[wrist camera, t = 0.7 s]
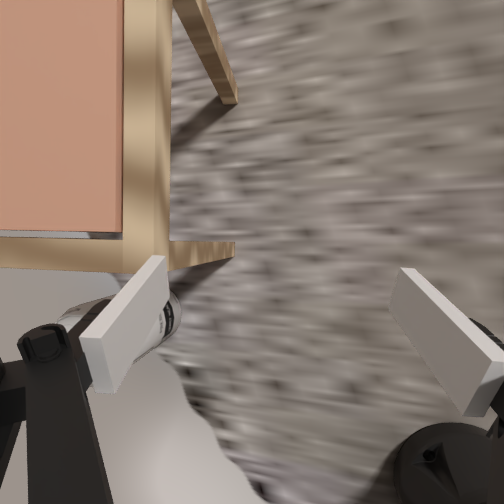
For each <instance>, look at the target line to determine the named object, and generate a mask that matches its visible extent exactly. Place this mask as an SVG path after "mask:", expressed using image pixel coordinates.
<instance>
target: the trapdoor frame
mask: <svg viewBox="0 0 504 504" xmlns="http://www.w3.org/2000/svg"><path fill="white" fill-rule="evenodd" d="M172 4H173V6H174V8H175V10H176V12H177V14H178V16H179V18H180V20H181V22H182V24H183V26H184V28H185V30H186V32H187V34H188V36H189V38H190V40H191V42H192V44H193V46H194V48H195V49H196V51H197V53H198V55H199V57H200V59H201V61H202V63H203V65H204V67H205V69H206V71H207V73H208V75H209V77H210V79H211V81H212V83H213V85H214V87H215V89H216V91H217V93H218V95H219V96H220V98H221V100H222V102H223V104H224V105H227V104H238V87H237V84H236V82H235V79H234V76H233V74H232V71H231V68H230V65H229V63H228V60H227V57H226V54H225V52H224V49H223V46H222V43H221V41H220V38H219V35H218V32H217V30H216V27H215V24H214V21H213V19H212V16H211V13H210V11H209V8H208V5H207V2H206V0H124V146H123V240H100V239H83V238H82V239H81V238H37V237H0V268H20V269H42V270H64V271H86V272H108V273H129V274H136V273H137V272H138V270H139V269H140V268H141V267H142V266H143V265H144V264H145V263H146V261H147V260H148V259H149V258H150V257H151V256H152V255H160V256H166V264H167V271H172V270H176V269H181V268H185V267H190V266H194V265H199V264H203V263H208V262H212V261H216V260H221V259H225V258H230V257H234V256H235V242H199V241H169V216H170V138H171V61H172Z"/></svg>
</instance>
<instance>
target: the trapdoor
mask: <svg viewBox="0 0 504 504" xmlns="http://www.w3.org/2000/svg"><path fill="white" fill-rule="evenodd" d="M123 146H124V0H0V230H30V231H32V230H33V231H79V232H101V233H123Z"/></svg>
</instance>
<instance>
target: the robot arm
mask: <svg viewBox="0 0 504 504" xmlns="http://www.w3.org/2000/svg"><path fill="white" fill-rule="evenodd" d="M169 298H170V292H169V283H168V274H167V264H166V256H160V255H152V256H151V257H150V258H149V259H148V260H147V261H146V263H145V264H144V265H143V266H142V267H141V268H140V269H139V270H138V272H137V273H136V274H135V275H134V276H133V277H132V278H131V279H130V280H129V282H128V283H127V284H126V285H125V286H124V287H123V288H122V289H121V291H120V292H119V293H118V294H117V295H116V296H115V297H114V298H113V299H104V300H102V301H100V302H99V303H97V304H95V305H94V306H93V307H92V308H91V309H90V310H89V311H88V312H87V314H85V315H84V316H83V317H82V318H81V320H80V321H78V322H77V323H76V324H75V325H74V326H73V327H72V328H71V329H70V331H69V332H68V333H67V331H66V328H65V327H64V326H63V325H61V324H58V323H57V324H46V325H42V326H39V327H36V328H34V329H32V330H30V331H29V332H27V333H25V334H24V335H23V336H22V337H21V338H20V339H19V340H18V343H17V346H18V349H19V351H20V353H21V356H22V358H23V360H18V361H13V362H7V363H3V362H2V360H1V358H0V488H1V485H2V482H3V479H4V475H5V472H6V469H7V466H8V463H9V460H10V457H11V454H12V451H13V448H14V445H15V442H16V438H17V435H18V432H19V429H20V426H21V422H22V421H25V420H26V428H27V465H28V466H27V467H28V502H29V503H28V504H113V499H112V495H111V491H110V487H109V483H108V479H107V475H106V471H105V467H104V463H103V459H102V455H101V451H100V447H99V442H98V438H97V435H96V430H95V427H94V422H93V418H92V414H91V410H90V406H89V403H88V398H87V395H86V391H87V389H88V388H89V386H90V385H91V383H92V384H93V387H94V391H95V393H104V394H115V393H116V391H117V389H118V388H119V386H120V384H121V383H122V381H123V379H124V377H125V375H126V374H127V372H128V370H129V368H130V367H131V365H132V363H133V361H134V360H135V358H136V356H137V354H138V352H139V351H140V349H141V347H142V345H143V344H144V342H145V340H146V338H147V337H148V335H149V333H150V331H151V329H152V328H153V326H154V324H155V322H156V321H157V319H158V317H159V315H160V314H161V312H162V310H163V308H164V306H165V305H166V303H167V301H168V299H169ZM388 310H389V311H390V312H391V314H392V315H393V317H394V318H395V320H396V321H397V322H398V324H399V325H400V327H401V328H402V330H403V331H404V333H405V334H406V335H407V337H408V338H409V340H410V341H411V343H412V344H413V346H414V347H415V348H416V350H417V351H418V353H419V354H420V356H421V357H422V359H423V360H424V361H425V363H426V364H427V366H428V367H429V369H430V370H431V371H432V373H433V374H434V376H435V377H436V379H437V380H438V382H439V383H440V384H441V386H442V387H443V389H444V390H445V392H446V393H447V395H448V396H449V397H450V399H451V400H452V402H453V403H454V405H455V406H456V408H457V409H458V410H459V412H460V413H461V415H462V416H470V417H484V415H485V414H486V412H487V410H488V409H489V407H490V406H491V407H492V409H493V410H494V411H495V412H496V413H497V415H498V416H497V418H496V420H495V421H494V423H493V424H492V426H491V428H490V429H489V431H486V430H484V429H482V428H479V427H476V426H473V425H469V424H463V423H441V424H436V425H432V426H429V427H427V428H424V429H422V430H420V431H419V432H417V433H415V434H414V435H413V436H411V437H410V438H409V439H408V440H407V441H406V442H405V444H404V445H403V446H402V448H401V449H400V451H399V453H398V455H397V458H396V461H395V465H394V483H395V488H396V491H397V494H398V497H399V499H400V502H401V504H504V344H502V342H501V341H500V340H499V339H498V338H497V337H494V334H493V333H491V332H490V331H489V330H488V329H487V328H486V327H485V326H483V325H481V324H480V323H478V322H476V321H475V320H473V319H471V318H467V317H466V316H465V315H464V314H463V313H462V312H461V311H460V310H459V309H457V308H456V307H455V306H454V305H453V304H452V303H451V302H450V301H449V300H448V299H447V298H446V297H444V296H443V295H442V294H441V293H440V292H439V291H438V290H437V289H436V288H435V287H434V286H433V285H431V284H430V283H429V282H428V281H427V280H426V279H425V278H424V277H423V276H422V275H421V274H419V273H418V272H417V271H416V270H415V269H414V268H400V270H399V273H398V276H397V280H396V283H395V286H394V290H393V293H392V296H391V300H390V303H389V307H388Z"/></svg>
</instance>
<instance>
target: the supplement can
mask: <svg viewBox="0 0 504 504" xmlns="http://www.w3.org/2000/svg"><path fill="white" fill-rule="evenodd" d="M169 292H170V298H169V299H168V301H167V303H166V305H165V306H164V308H163V310H162V312H161V314H160V315H159V317H158V319H157V321H156V322H155V324H154V326H153V328H152V329H151V331H150V333H149V335H148V337H147V338H146V340H145V342H144V344H143V345H142V347H141V349H140V351H139V352H138V354H137V356H136V358H135V360H134V361H133V363H132V365H133V364H134V363H135V362H137V361H138V360H139V359H141V358H142V357H143V356H145V355H146V354H147V353H149V352H150V351H151V350H153V349H154V348H155V347H157V346H158V345H159V344H161V343H162V342H163V341H165V340H166V339H167V338H169V337H170V336H171V335H172V334H173V333H174V332H176V330H177V328H178V326H179V324H180V322H181V315H182V312H181V307H180V303H179V301H178V299H177V298H176V296H175V294H174V293H172V292H171V291H170V290H169ZM116 295H117V294H115V295H112V296H109V297H105V298H101V299H98V300H95V301H91V302H87V303H84V304H81V305H78V306H76V307H73V308H70V309H69V310H68V311H66V312H65V313H64V314H63V315H62V317H60V318H59V319H58V320H57V321H56V322H55V323H54V324H57V323H58V324H61V325H63V326H64V327H65V328H66V331H67V333H68V332H69V331H70V329H71V328H72V327H73V326H74V325H75V324H76V323H77V322H78V321H80V320H81V318H82V317H83V316H84V315H85V314H87V312H88V311H89V310H90V309H91V308H92V307H93V306H94V305H95V304H97V303H99V302H100V301H102V300H104V299H113V298H114V297H115V296H116ZM91 386H92V387H93V384H92V383H91V385H90V386H89V387H91Z"/></svg>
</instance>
